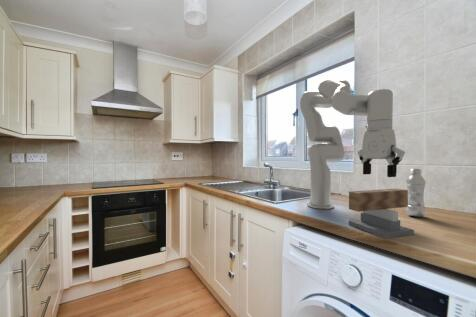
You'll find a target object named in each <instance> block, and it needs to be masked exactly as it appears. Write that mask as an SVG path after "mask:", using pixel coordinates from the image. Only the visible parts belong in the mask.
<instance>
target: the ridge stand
mask: <svg viewBox="0 0 476 317" xmlns="http://www.w3.org/2000/svg"><path fill="white" fill-rule="evenodd" d="M348 225H349V226H351V225H352V226H351V227H354V226H355V227H354V228H357V227H358V229H359V228H360V230H362V229H363V231H364V230H365V232H367V233H370V234H372V233H373V235H375V236H378V237H381V238H383V239H391V238H392V239H393V237H394V238H399V236H400V237H405V236H406V237H407V236H412V235H415V229H412V228H410V227H405V226H402V225H401V219H399V211H396V210H392V209H381V210H370V211H361V212H360V218H359V219H352V220H351V219H350V220H348Z"/></svg>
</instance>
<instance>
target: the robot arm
mask: <svg viewBox="0 0 476 317" xmlns="http://www.w3.org/2000/svg"><path fill="white" fill-rule="evenodd" d="M393 96H394V95H393V91H392V90H391V89H389V88H387V89H385V88H383V89H382V88H381V89H376V90H372V91H370V92H369V93H368V94H367V95H364V94H352V89H351V84H350V82H349V81H348V80H346V79H337V78H325V79H324V80H322V81H320V83H319V84H318V86H317V90H308V91H304V92H303V93H302V95H301V96H300V101H299V105H300V106H299V107H300V112H301V114H302V117H303V119H304V122H305V128H306V132H307V137H308V140H309V142H311V143H314V144H312V145H311V146H310V147H309V149H308V160H309V165H310V167H309V168H310V196H308V197H307V199H308V200H309V202H307V207H310V208H313V209H320V210H329V209H330V210H332V209H333V208H335V204H333V203H331V202H332V201H331V199H332V198H331V196H332V195H331V193H332V192H331V191H332V190H331V188H332V187H331V185H332V184H331V183H332V182H331V181H332V180H331V178H332V177H331V175H332V173H331V169H330V167H329V165H328V163H331V164H332V163H340V162H342V161H343V160H344V158H345V148H344V144H343V139H342V135H341V132H340V129H339V128H338V127H337V126H336V125H332V124H325V123H324V122H323V117H322V115H321V113H320V112H319V111H318V110H317V109H318V108H319V109H320V108H321V109H329V108H333V109H334V110H335V111H337V112H338V113H340V114H343V115H346V116H360V117H361V116H363V117H366V125H365V129H366V131H364V134H363V137H362V138H363V139H362V147H361V149H360V150H358V152H357V154H358V158H359V160H360V161H361V164H362V174H363V175H371V174H372V163H371V162H372V160H384V159H385V160H386V162H387V163H388V164H387V168H386V169H387V170H386V171H387V172H386V176H387V178H396V177H397V171H398V170H397V166H398V165H399V164H400V162H402V160H403V158H404V156H405V153H406V152H405V151H404V150H403V149H401V148H398V147H397V141H396V140H397V138H396V133H395V130H394V129H393V115H394V114H393V107H394V106H393V102H394V101H393V100H394V99H393V98H394V97H393ZM316 108H317V109H316Z"/></svg>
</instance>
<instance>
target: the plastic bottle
mask: <svg viewBox="0 0 476 317" xmlns="http://www.w3.org/2000/svg"><path fill="white" fill-rule="evenodd" d="M409 170H410V172H409V173H410V175H409V176H408V177H407V178H406V181H405V182H406V188H407V189H406V190H408V207H405V210H406V213H407V215H408V216H412V217H413V218H414V217H416V218H417V217H419V218H422V217H424V216H425V215H426V207H425V198H424V197H425V196H424V194H425V188H426V179H425V178H424V177H423V176H422V175H421V174H422V169H421V168H410V169H409Z"/></svg>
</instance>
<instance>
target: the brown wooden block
mask: <svg viewBox="0 0 476 317" xmlns="http://www.w3.org/2000/svg"><path fill="white" fill-rule="evenodd" d="M406 207H408V189H402V188H383V189H366V190H354V191H353V190H351V191H348V209H349V210H351V211H354V212H359V213H361V212H363V211H370V210H381V209H389V210H392V209H400V208H406Z"/></svg>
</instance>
